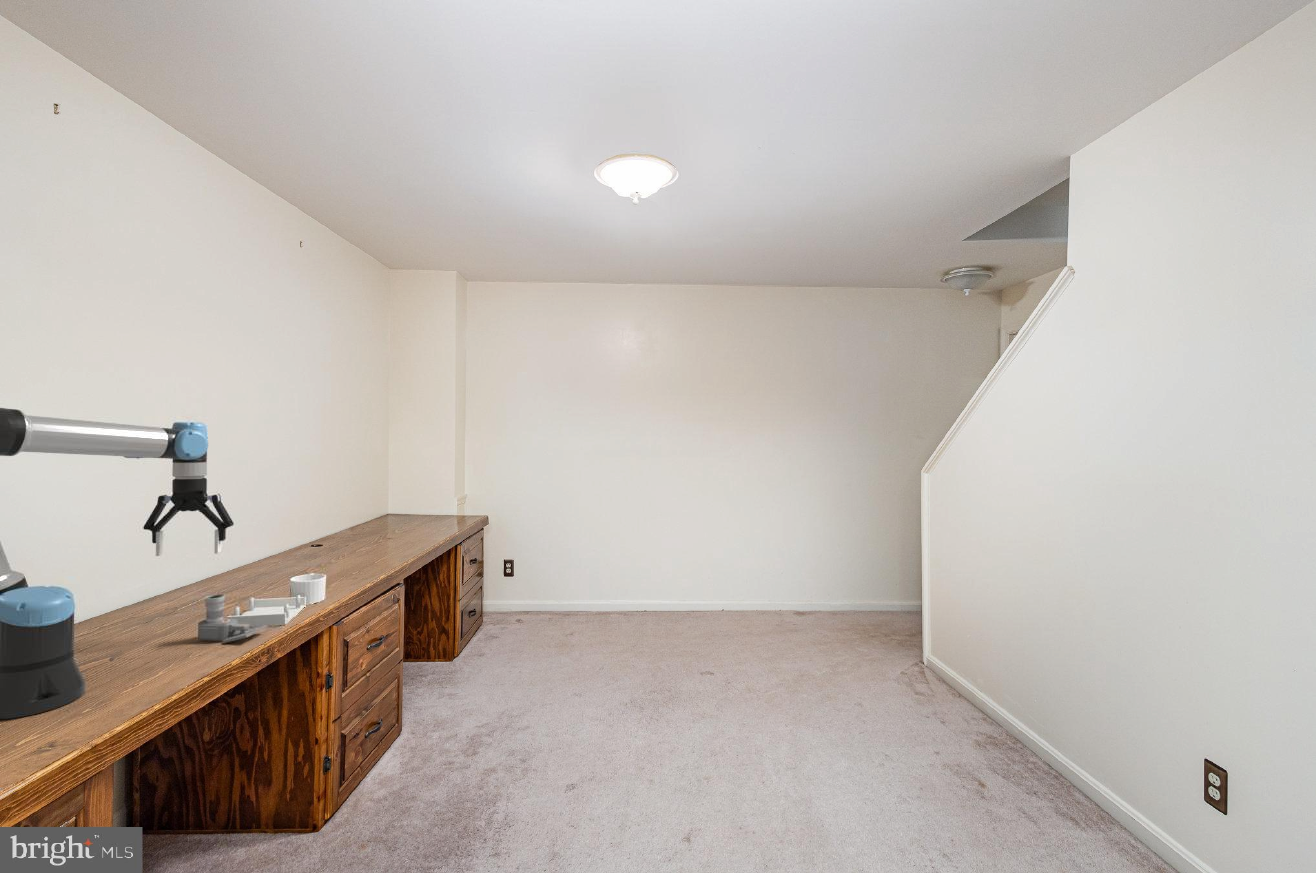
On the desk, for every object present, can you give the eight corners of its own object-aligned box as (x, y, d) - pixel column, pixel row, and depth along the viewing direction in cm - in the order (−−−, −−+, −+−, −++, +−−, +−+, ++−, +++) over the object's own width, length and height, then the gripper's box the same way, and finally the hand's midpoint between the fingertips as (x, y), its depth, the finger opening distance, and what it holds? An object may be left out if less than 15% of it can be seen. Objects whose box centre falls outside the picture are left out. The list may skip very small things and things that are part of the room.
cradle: (285, 625, 173) (285, 608, 173) (226, 628, 170) (226, 611, 170) (305, 607, 191) (305, 591, 191) (253, 609, 187) (253, 594, 187)
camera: (214, 591, 166) (268, 592, 167) (213, 632, 166) (267, 634, 167) (190, 600, 158) (247, 601, 158) (189, 644, 158) (246, 645, 158)
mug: (323, 604, 194) (323, 580, 194) (286, 607, 190) (286, 582, 190) (329, 593, 206) (329, 570, 206) (294, 596, 203) (294, 573, 202)
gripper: (246, 476, 171) (246, 549, 171) (143, 476, 164) (142, 553, 164) (236, 478, 164) (236, 554, 164) (127, 479, 156) (127, 558, 157)
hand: (189, 553), depth 164 cm, fingers open, 13 cm apart
